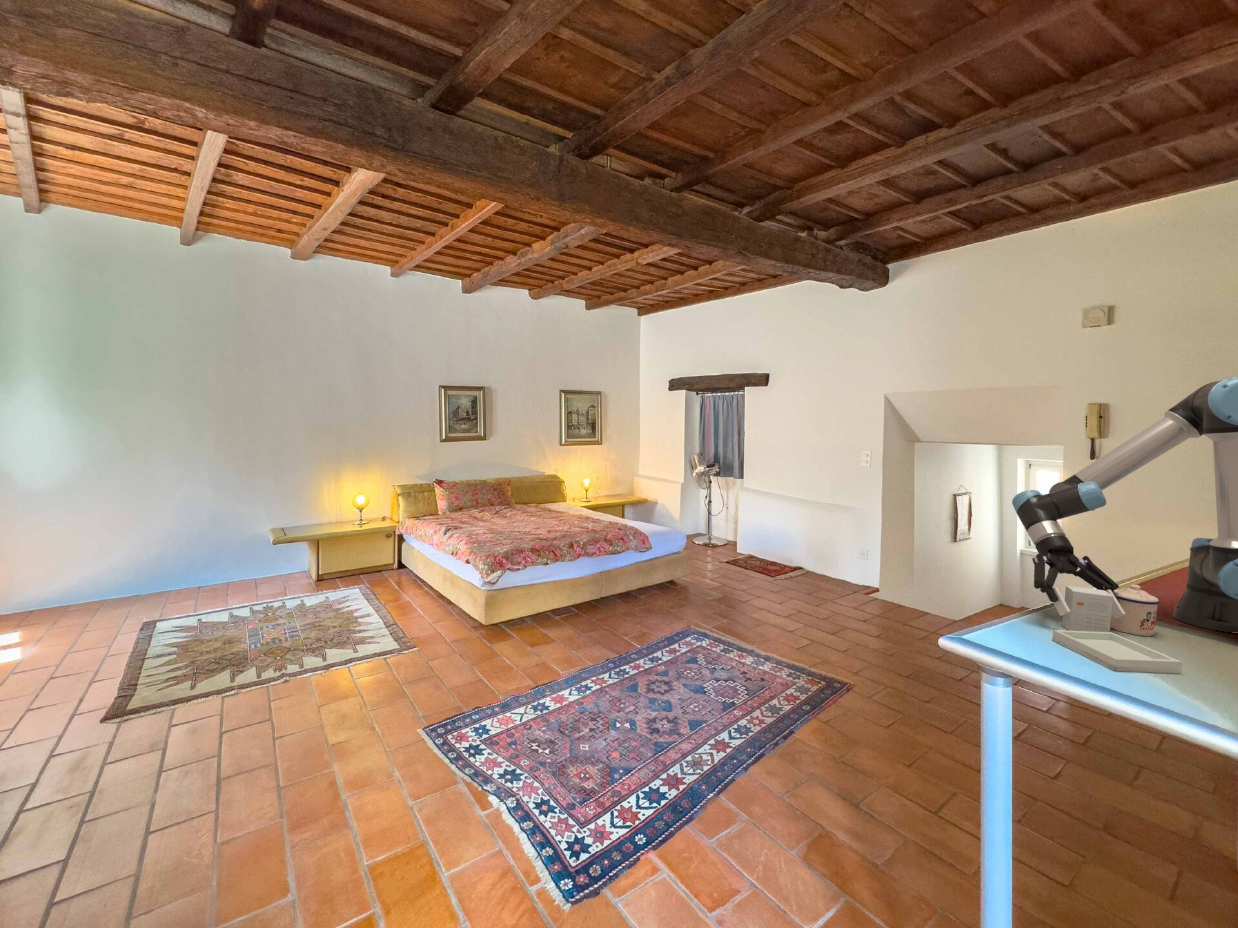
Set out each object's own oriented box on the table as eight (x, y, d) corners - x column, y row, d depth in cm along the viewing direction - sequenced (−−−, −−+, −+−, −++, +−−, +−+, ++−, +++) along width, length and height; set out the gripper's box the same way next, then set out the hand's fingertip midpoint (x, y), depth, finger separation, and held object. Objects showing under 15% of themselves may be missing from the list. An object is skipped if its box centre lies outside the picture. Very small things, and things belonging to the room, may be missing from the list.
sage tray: (1110, 642, 129) (1111, 632, 129) (1180, 673, 113) (1182, 661, 113) (1052, 640, 129) (1053, 629, 128) (1114, 670, 113) (1115, 659, 112)
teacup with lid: (1148, 639, 132) (1154, 592, 131) (1100, 626, 140) (1105, 582, 139) (1163, 631, 138) (1169, 586, 137) (1117, 619, 146) (1122, 577, 145)
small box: (1100, 630, 137) (1105, 590, 136) (1109, 638, 132) (1114, 596, 131) (1061, 624, 140) (1065, 584, 139) (1068, 631, 135) (1072, 590, 134)
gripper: (1086, 550, 150) (1131, 623, 136) (997, 546, 150) (1033, 619, 136) (1105, 536, 145) (1154, 610, 131) (1013, 531, 144) (1052, 605, 130)
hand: (1092, 615), depth 133 cm, fingers open, 13 cm apart
